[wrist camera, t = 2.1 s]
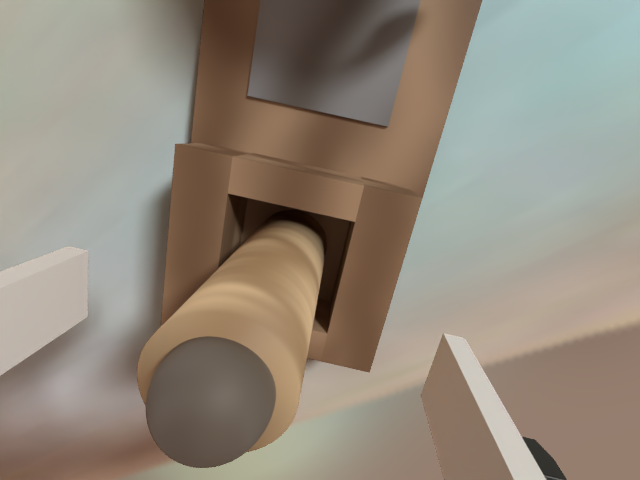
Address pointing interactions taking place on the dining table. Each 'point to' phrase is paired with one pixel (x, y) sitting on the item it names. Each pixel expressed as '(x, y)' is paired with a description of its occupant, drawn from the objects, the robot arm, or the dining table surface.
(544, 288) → the dining table surface
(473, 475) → the robot arm
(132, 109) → the dining table surface
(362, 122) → the caddy
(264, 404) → the pepper mill
